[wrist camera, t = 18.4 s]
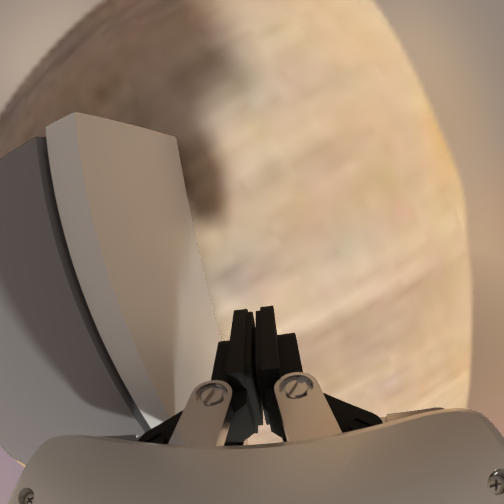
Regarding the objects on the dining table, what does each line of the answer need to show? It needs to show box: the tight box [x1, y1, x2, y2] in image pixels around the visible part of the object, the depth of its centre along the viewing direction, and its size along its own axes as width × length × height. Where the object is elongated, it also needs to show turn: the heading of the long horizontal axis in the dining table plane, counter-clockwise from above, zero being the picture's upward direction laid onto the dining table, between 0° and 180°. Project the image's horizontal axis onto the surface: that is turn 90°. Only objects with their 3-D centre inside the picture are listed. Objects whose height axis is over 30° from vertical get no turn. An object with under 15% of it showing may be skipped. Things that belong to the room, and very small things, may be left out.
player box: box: [0, 137, 151, 465], centre depth 13 cm, size 18×18×10 cm
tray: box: [45, 112, 221, 429], centre depth 13 cm, size 18×18×9 cm
